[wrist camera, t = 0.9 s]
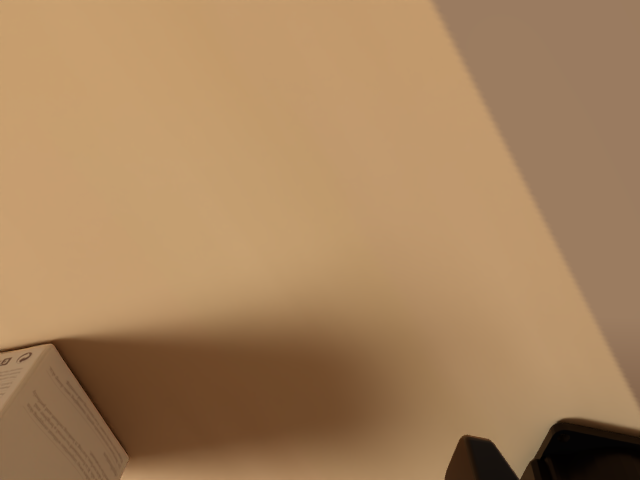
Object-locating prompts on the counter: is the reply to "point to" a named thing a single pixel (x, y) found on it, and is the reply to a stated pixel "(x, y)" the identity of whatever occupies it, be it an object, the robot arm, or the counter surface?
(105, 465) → the skincare box
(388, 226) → the counter surface
